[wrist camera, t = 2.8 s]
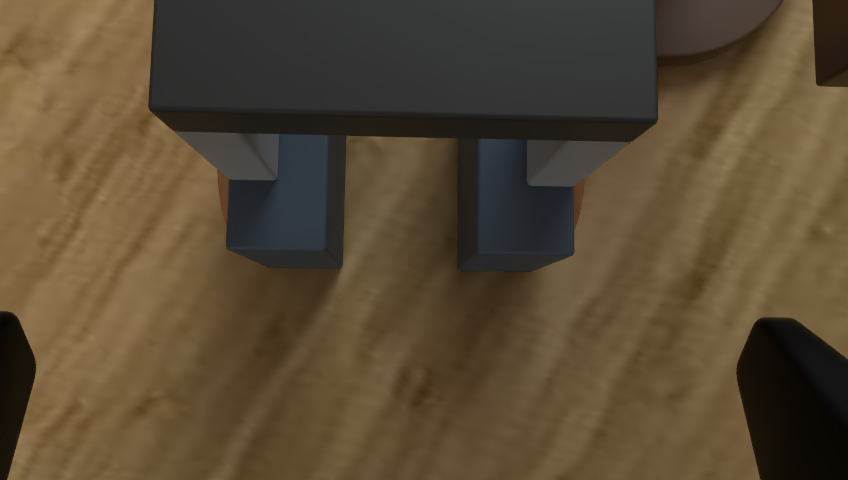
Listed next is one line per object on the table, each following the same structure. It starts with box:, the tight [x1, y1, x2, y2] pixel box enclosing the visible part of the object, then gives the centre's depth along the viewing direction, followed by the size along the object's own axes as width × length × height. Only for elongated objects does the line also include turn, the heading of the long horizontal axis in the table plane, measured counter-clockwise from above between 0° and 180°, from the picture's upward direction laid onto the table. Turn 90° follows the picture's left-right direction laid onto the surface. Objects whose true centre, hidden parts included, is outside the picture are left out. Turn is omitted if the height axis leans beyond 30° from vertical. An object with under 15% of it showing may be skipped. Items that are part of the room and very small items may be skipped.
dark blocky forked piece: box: [148, 0, 658, 272], centre depth 15 cm, size 5×8×10 cm, turn 89°
